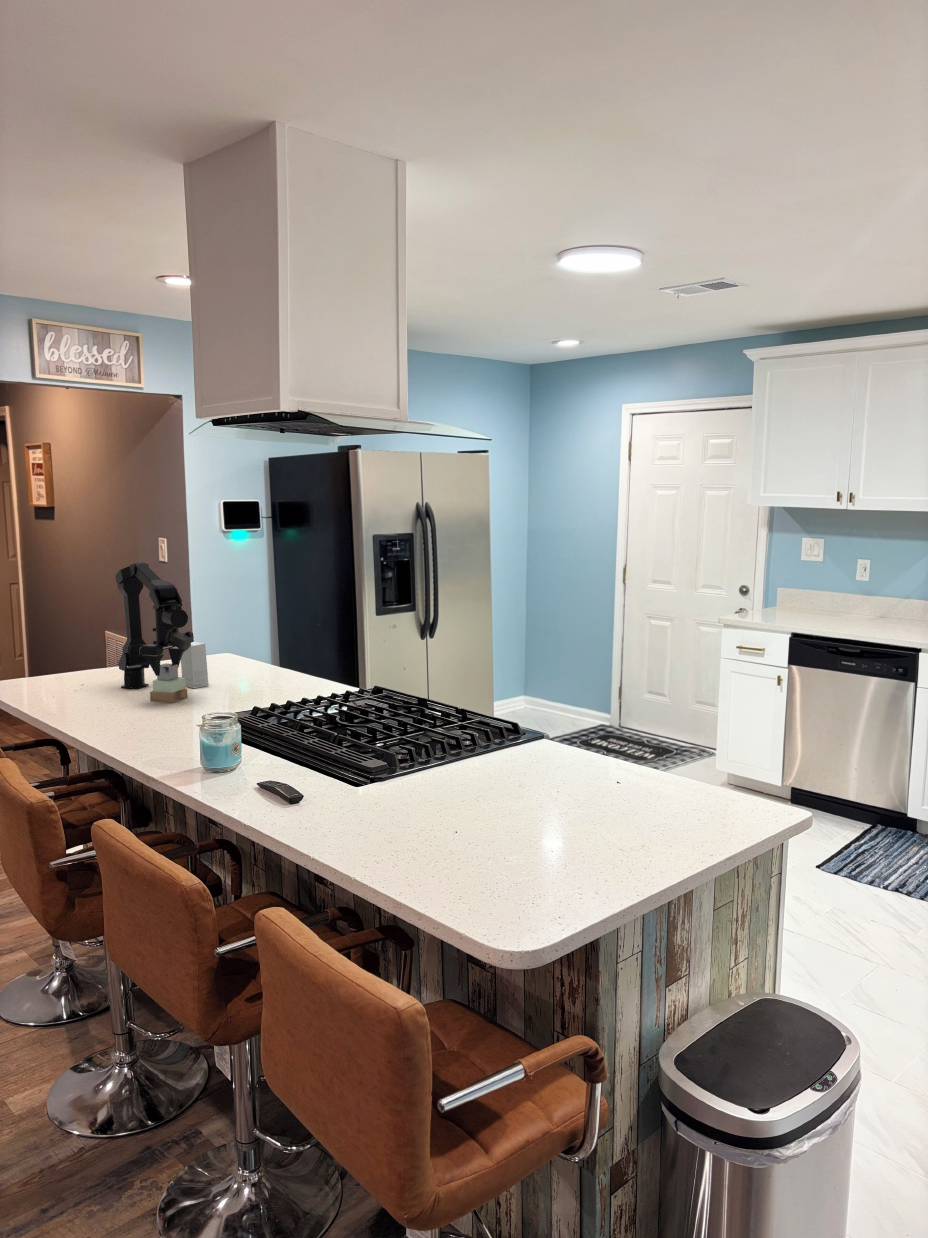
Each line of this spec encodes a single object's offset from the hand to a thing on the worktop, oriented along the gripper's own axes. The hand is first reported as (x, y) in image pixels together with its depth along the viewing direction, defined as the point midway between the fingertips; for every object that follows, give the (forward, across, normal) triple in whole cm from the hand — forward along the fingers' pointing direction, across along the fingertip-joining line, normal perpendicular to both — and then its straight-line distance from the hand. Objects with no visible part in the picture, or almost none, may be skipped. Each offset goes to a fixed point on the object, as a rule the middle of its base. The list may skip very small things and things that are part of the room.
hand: (166, 673), depth 284 cm
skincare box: (+9, +20, +4) cm, 22 cm away
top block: (+6, 0, 0) cm, 6 cm away
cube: (+2, 0, 0) cm, 2 cm away
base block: (+9, 0, 0) cm, 9 cm away
